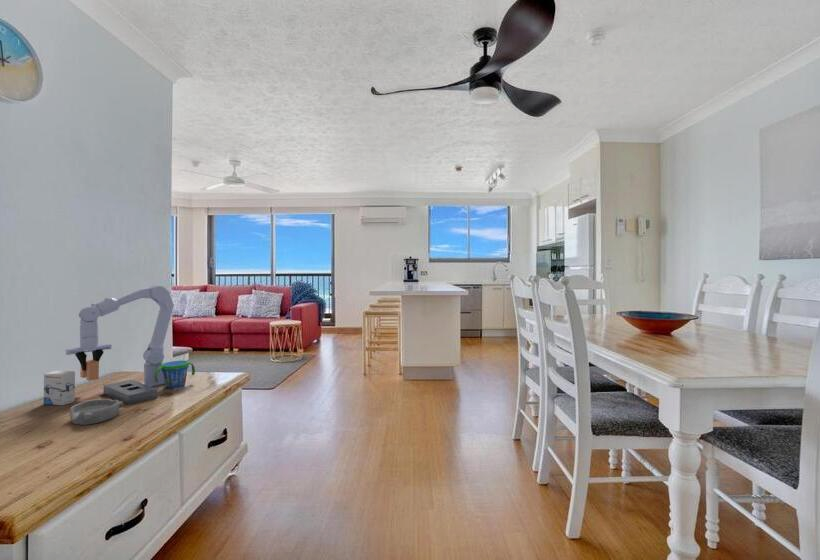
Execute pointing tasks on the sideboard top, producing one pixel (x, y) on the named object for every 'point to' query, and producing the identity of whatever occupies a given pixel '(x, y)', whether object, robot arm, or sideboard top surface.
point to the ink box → (59, 387)
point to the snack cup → (174, 373)
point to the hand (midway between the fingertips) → (89, 369)
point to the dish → (94, 411)
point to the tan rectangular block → (90, 370)
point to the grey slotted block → (130, 391)
